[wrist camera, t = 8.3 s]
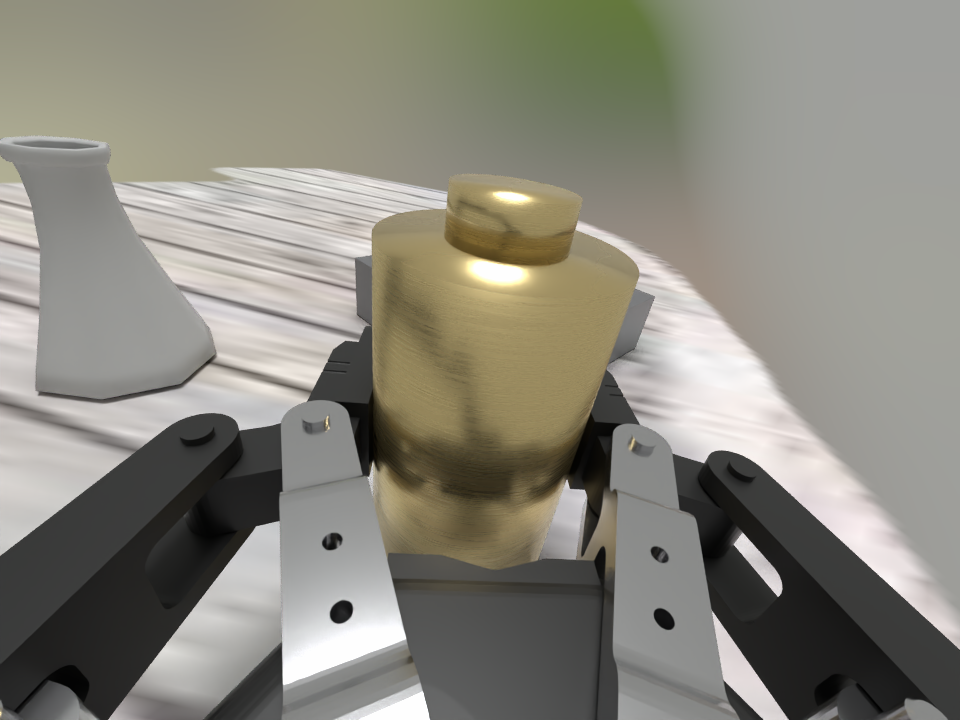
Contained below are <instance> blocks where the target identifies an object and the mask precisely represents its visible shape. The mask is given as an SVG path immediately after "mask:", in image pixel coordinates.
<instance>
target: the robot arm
mask: <svg viewBox="0 0 960 720" xmlns="http://www.w3.org/2000/svg"><path fill="white" fill-rule="evenodd" d="M372 463H373V347H372V326H366V327H365V328H364V331H363V333H362V336H361V338H360V341H359V342H352V341H345V342H343V343H342V344H340V345H339V346H338V347H336V348H335V349H333V351H332V353H331V355H330V357H329V359H328V363H326V365H325V367H324V369H323V372H322V373H321V375H320V377H319V379H318V381H317V383H316V385H315V387H314V389H313V391H312V393H311V395H310V397H309V399H308V401H307V402H305V403H302V404H299V405H297V406H295V407H293V408H292V409H290V410H289V411H288V412H287V413H286V414H285V415H284V417H283V419H282V421H281V423H280V424H276V425H273V426H268V427H262V428H255V429H248V430H241V431H239V428H238V424H237V423H236V421H235V420H234V419H233V418H231V417H229V416H226V415H223V414H216V413H208V414H199V415H195V416H191V417H188V418H185V419H182V420H180V421H178V422H176V423H174V424H172V425H171V426H169V427H168V428H166V429H165V430H164V431H162V432H161V433H160V434H159V435H157V436H156V437H155V438H153V439H152V440H151V441H149V442H148V443H147V444H145V445H144V446H143V447H142V448H140V449H139V450H138V451H136V452H135V453H134V454H132V455H131V456H130V457H129V458H127V459H126V460H125V461H123V462H122V463H121V464H119V465H118V466H117V467H116V468H114V469H113V470H112V471H110V472H109V473H108V474H106V475H105V476H104V477H103V478H101V479H100V480H99V481H97V482H96V483H95V484H93V485H92V486H91V487H90V488H88V489H87V490H86V491H84V492H83V493H82V494H80V495H79V496H78V497H76V498H75V499H74V500H73V501H71V502H70V503H69V504H67V505H66V506H65V507H63V508H62V509H61V510H60V511H58V512H57V513H56V514H54V515H53V516H52V517H50V518H49V519H48V520H47V521H45V522H44V523H43V524H41V525H40V526H39V527H37V528H36V529H35V530H34V531H32V532H31V533H30V534H28V535H27V536H26V537H24V538H23V539H22V540H20V541H19V542H18V543H17V544H15V545H14V546H13V547H11V548H10V549H9V550H7V551H6V552H5V553H4V554H2V555H1V556H0V720H108V719H109V718H110V716H111V715H112V714H113V712H114V711H115V710H116V708H117V707H118V706H119V705H120V703H121V702H122V701H123V699H124V698H125V697H126V695H127V694H128V693H129V692H130V690H131V689H132V688H133V686H134V685H135V684H136V682H137V681H138V680H139V678H140V677H141V676H142V675H143V673H144V672H145V671H146V669H147V668H148V667H149V665H150V664H151V663H152V662H153V660H154V659H155V658H156V656H157V655H158V654H159V652H160V651H161V650H162V649H163V647H164V646H165V645H166V643H167V642H168V641H169V639H170V638H171V637H172V636H173V634H174V633H175V632H176V630H177V629H178V628H179V626H180V625H181V624H182V623H183V621H184V620H185V619H186V617H187V616H188V615H189V613H190V612H191V611H192V610H193V608H194V607H195V606H196V604H197V603H198V602H199V600H200V599H201V598H202V597H203V595H204V594H205V593H206V591H207V590H208V589H209V587H210V586H211V585H212V584H213V582H214V581H215V580H216V578H217V577H218V576H219V574H220V573H221V572H222V571H223V569H224V568H225V567H226V565H227V564H228V563H229V561H230V560H231V559H232V558H233V556H234V555H235V554H236V552H237V551H238V550H239V548H240V547H241V546H242V545H243V543H244V542H245V541H246V539H247V538H248V537H249V535H250V534H251V533H252V532H253V530H254V529H255V527H256V526H259V525H264V524H268V523H272V522H277V521H280V557H281V607H282V642H281V643H280V644H279V645H278V646H277V647H276V648H275V649H274V650H273V651H272V652H271V653H270V654H269V655H268V656H267V657H266V658H265V659H264V660H263V661H262V662H261V663H260V664H259V665H258V666H257V667H256V668H255V669H254V670H253V671H252V672H251V673H250V674H249V675H248V676H247V677H246V678H245V679H244V680H243V681H242V682H241V683H240V684H239V685H238V686H236V687H235V688H234V689H233V690H232V691H231V692H230V693H229V694H228V695H227V696H226V697H225V698H224V699H223V700H222V701H221V702H220V703H219V704H218V705H217V706H216V707H215V708H214V709H213V710H212V711H211V712H210V713H209V714H208V715H207V716H206V717H205V718H204V719H203V720H763V719H762V718H761V717H760V716H759V715H758V714H757V713H756V712H755V711H754V710H753V709H752V708H751V707H750V706H749V705H748V704H747V703H746V702H745V701H744V700H743V699H742V698H741V697H740V696H739V695H738V694H737V693H736V692H735V691H734V690H733V689H732V688H731V687H730V686H729V685H728V684H727V683H726V682H725V681H724V680H723V675H722V669H721V663H720V657H719V652H718V646H717V640H716V634H715V628H714V622H713V616H712V611H713V612H714V614H715V615H716V617H717V618H718V620H719V621H720V622H721V624H722V625H723V627H724V628H725V629H726V631H727V632H728V634H729V635H730V637H731V638H732V639H733V641H734V642H735V644H736V645H737V647H738V648H739V649H740V651H741V652H742V654H743V655H744V657H745V658H746V659H747V661H748V662H749V664H750V665H751V666H752V668H753V669H754V671H755V672H756V674H757V675H758V676H759V678H760V679H761V681H762V682H763V684H764V685H765V686H766V688H767V689H768V691H769V692H770V694H771V695H772V696H773V698H774V699H775V701H776V702H777V703H778V705H779V706H780V708H781V709H782V711H783V712H784V713H785V715H786V716H787V718H788V719H789V720H960V650H959V649H958V648H957V647H956V646H955V645H954V644H953V643H952V642H951V641H950V640H949V639H947V638H946V637H945V636H944V635H943V634H942V633H941V632H940V631H939V630H938V629H937V628H935V627H934V626H933V625H932V624H931V623H930V622H929V621H928V620H927V619H926V618H925V617H923V616H922V615H921V614H920V613H919V612H918V611H917V610H916V609H915V608H914V607H913V606H911V605H910V604H909V603H908V602H907V601H906V600H905V599H904V598H903V597H902V596H901V595H899V594H898V593H897V592H896V591H895V590H894V589H893V588H892V587H891V586H890V585H889V584H888V583H886V582H885V581H884V580H883V579H882V578H881V577H880V576H879V575H878V574H877V573H876V572H874V571H873V570H872V569H871V568H870V567H869V566H868V565H867V564H866V563H865V562H864V561H862V560H861V559H860V558H859V557H858V556H857V555H856V554H855V553H854V552H853V551H852V550H850V549H849V548H848V547H847V546H846V545H845V544H844V543H843V542H842V541H841V540H840V539H838V538H837V537H836V536H835V535H834V534H833V533H832V532H831V531H830V530H829V529H828V528H826V527H825V526H824V525H823V524H822V523H821V522H820V521H819V520H818V519H817V518H816V517H814V516H813V515H812V514H811V513H810V512H809V511H808V510H807V509H806V508H805V507H804V506H802V505H801V504H800V503H799V502H798V501H797V500H796V499H795V498H794V497H793V496H792V495H790V494H789V493H788V492H787V491H786V490H785V489H784V488H783V487H782V486H781V485H780V484H779V483H777V482H776V481H775V480H774V479H773V478H772V477H771V476H770V475H769V474H768V473H767V472H765V471H764V470H763V469H762V468H761V467H760V466H759V465H757V464H756V463H754V462H753V461H751V460H750V459H748V458H746V457H744V456H742V455H739V454H737V453H733V452H729V451H714V452H712V453H711V454H710V455H709V456H708V458H707V460H706V461H705V463H701V462H698V461H694V460H691V459H688V458H684V457H681V456H678V455H675V454H672V450H671V447H670V445H669V444H668V442H667V441H666V440H665V439H664V438H663V437H662V436H661V435H659V434H658V433H656V432H655V431H653V430H651V429H649V428H647V427H644V426H641V425H640V424H639V422H638V421H637V419H636V417H635V415H634V413H633V412H632V410H631V408H630V406H629V404H628V403H627V401H626V399H625V397H623V394H622V392H621V390H620V388H618V385H617V383H616V381H615V379H614V378H613V376H612V374H610V373H609V372H608V371H607V370H606V371H605V373H604V376H603V379H602V382H601V385H600V387H599V390H598V393H597V396H596V399H595V401H594V404H593V407H592V410H591V413H590V415H589V418H588V421H587V424H586V427H585V429H584V432H583V435H582V438H581V441H580V443H579V446H578V449H577V452H576V455H575V457H574V460H573V463H572V466H571V469H570V471H569V474H568V477H567V480H568V483H569V487H570V489H582V490H585V491H586V494H587V497H586V500H585V502H584V505H583V508H582V516H581V524H580V532H579V540H578V548H577V556H576V560H564V559H542V560H538V561H533V562H529V563H525V564H521V565H516V566H512V567H508V568H504V569H499V570H492V569H488V568H484V567H481V566H477V565H474V564H470V563H467V562H464V561H460V560H457V559H453V558H450V557H446V556H443V555H433V554H406V553H388V557H386V552H385V548H384V544H383V540H382V536H381V531H380V527H379V523H378V519H377V515H376V510H375V506H374V502H373V498H372V494H371V489H370V485H369V481H368V478H367V476H368V477H369V475H370V471H371V467H372ZM742 532H743V533H744V534H745V535H746V537H747V538H748V539H749V540H750V541H751V542H752V543H753V544H754V545H755V547H756V548H757V549H758V550H759V551H760V552H761V553H762V554H763V556H764V557H765V558H766V559H767V560H768V561H769V562H770V563H771V565H772V566H773V567H774V568H775V569H776V571H777V572H778V574H779V576H780V578H781V581H782V587H783V589H782V593H781V595H780V596H779V597H777V595H776V594H775V593H774V592H773V591H772V590H771V588H770V587H769V586H768V585H767V584H766V582H765V581H764V580H763V579H762V578H761V577H760V575H759V574H758V573H757V572H756V571H755V570H754V568H753V567H752V566H751V565H750V564H749V562H748V561H747V560H746V559H745V558H744V557H743V555H742V554H741V553H740V552H739V551H738V549H737V548H736V547H735V546H734V545H733V544H734V543H735V542H736V540H737V539H738V538H739V536H740V535H741V534H742Z"/></svg>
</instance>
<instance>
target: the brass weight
mask: <svg viewBox="0 0 960 720" xmlns="http://www.w3.org/2000/svg"><path fill="white" fill-rule="evenodd" d="M582 201H583V199H582V197H580V196H579V195H577V194H576V193H573V192H571V191H568V190H565V189H562V188H559V187H556V186H551V185H548V184H544V183H539V182H535V181H530V180H524V179H519V178H512V177H505V176H496V175H485V174H459V175H453V176H451V177H450V178H449V186H448V197H447V209H434V210H419V211H411V212H404V213H400V214H396V215H393V216H390V217H387V218H385V219H383V220H381V221H379V222H378V223H377V224H376V225H375V226H374V228H373V229H372V347H373V502H374V506H375V510H376V515H377V519H378V523H379V527H380V531H381V536H382V540H383V544H384V548H385V552H386V557H388V553H406V554H433V555H443V556H446V557H450V558H453V559H457V560H460V561H464V562H467V563H470V564H474V565H477V566H481V567H484V568H488V569H492V570H499V569H504V568H508V567H512V566H516V565H521V564H525V563H529V562H533V561H538V558H539V555H540V552H541V550H542V547H543V544H544V541H545V538H546V536H547V533H548V530H549V527H550V524H551V522H552V519H553V516H554V513H555V510H556V508H557V505H558V502H559V499H560V496H561V494H562V491H563V488H564V485H565V482H566V480H567V477H568V474H569V471H570V469H571V466H572V463H573V460H574V457H575V455H576V452H577V449H578V446H579V443H580V441H581V438H582V435H583V432H584V429H585V427H586V424H587V421H588V418H589V415H590V413H591V410H592V407H593V404H594V401H595V399H596V396H597V393H598V390H599V387H600V385H601V382H602V379H603V376H604V373H605V371H606V368H607V365H608V362H609V359H610V357H611V354H612V351H613V348H614V345H615V343H616V340H617V337H618V334H619V331H620V329H621V326H622V323H623V320H624V317H625V315H626V312H627V309H628V306H629V303H630V301H631V298H632V295H633V292H634V289H635V287H636V284H637V281H638V278H639V269H638V267H637V265H636V264H635V263H634V261H633V260H632V259H631V258H630V257H628V256H627V255H626V254H625V253H623V252H622V251H620V250H619V249H617V248H615V247H613V246H612V245H610V244H608V243H606V242H604V241H602V240H599V239H597V238H595V237H592V236H590V235H587V234H584V233H582V232H579V231H576V230H575V229H576V225H577V221H578V217H579V213H580V209H581V205H582Z"/></svg>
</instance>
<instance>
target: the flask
mask: <svg viewBox="0 0 960 720" xmlns="http://www.w3.org/2000/svg"><path fill="white" fill-rule="evenodd" d="M0 155H1V157H2V158H3V159H5V160H6V161H9V162H13V164H14V166H15V167H16V169H17V170H18V172H19V174H20V177H21V179H22V182H23V184H24V187H25V189H26V192H27V194H28V196H29V199H30V201H31V205H32V210H33V215H34V220H35V226H36V231H37V236H38V241H39V246H40V314H39V330H38V345H37V360H36V391H42V392H50V393H57V394H65V395H73V396H80V397H88V398H96V399H106V398H111V397H116V396H121V395H127V394H132V393H137V392H142V391H147V390H152V389H157V388H162V387H167V386H172V385H177V384H181V383H182V382H183V381H184V380H186V379H187V378H188V377H189V376H190V375H191V374H193V373H194V372H195V371H196V370H197V369H198V368H200V367H201V366H202V365H203V364H204V363H205V362H206V361H208V360H209V359H210V358H211V357H212V356H213V355H215V354H216V350H215V347H214V343H213V339H212V335H211V331H210V328H209V327H208V326H207V324H206V323H205V322H204V320H203V319H202V318H201V316H200V315H199V314H198V313H197V311H196V310H195V309H194V308H193V307H192V305H191V304H190V303H189V302H188V300H187V299H186V298H185V297H184V295H183V294H182V293H181V292H180V290H179V289H178V288H177V287H176V285H175V284H174V283H173V282H172V280H171V279H170V278H169V276H168V275H167V274H166V272H165V271H164V270H163V268H162V267H161V266H160V264H159V263H158V262H157V260H156V259H155V257H154V256H153V255H152V253H151V252H150V251H149V249H148V248H147V247H146V245H145V244H144V243H143V241H142V240H141V239H140V237H139V236H138V235H137V233H136V231H135V229H134V227H133V225H132V223H131V221H130V220H129V218H128V216H127V214H126V212H125V210H124V208H123V207H122V205H121V203H120V201H119V199H118V197H117V195H116V192H115V189H114V187H113V184H112V181H111V178H110V175H109V172H108V169H107V164H108V163H109V160H110V156H111V154H110V148H109V145H108V143H104V142H98V141H91V140H85V139H78V138H66V137H49V136H24V137H8V138H2V139H0Z"/></svg>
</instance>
